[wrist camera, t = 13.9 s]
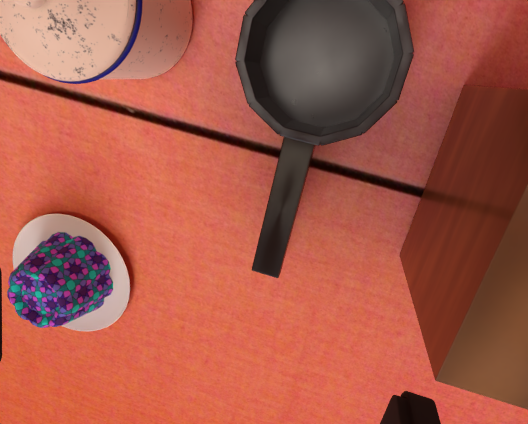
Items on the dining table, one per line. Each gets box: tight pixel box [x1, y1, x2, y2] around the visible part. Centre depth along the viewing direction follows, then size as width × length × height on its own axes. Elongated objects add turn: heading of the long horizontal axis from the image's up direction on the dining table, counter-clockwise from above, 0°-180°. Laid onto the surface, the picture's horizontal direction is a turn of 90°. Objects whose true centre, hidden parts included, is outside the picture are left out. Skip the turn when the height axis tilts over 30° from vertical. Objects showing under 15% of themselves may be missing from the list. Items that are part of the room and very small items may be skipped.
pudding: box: [7, 214, 130, 331], centre depth 36 cm, size 12×12×5 cm
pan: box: [235, 0, 414, 278], centre depth 28 cm, size 20×10×5 cm, turn 167°
